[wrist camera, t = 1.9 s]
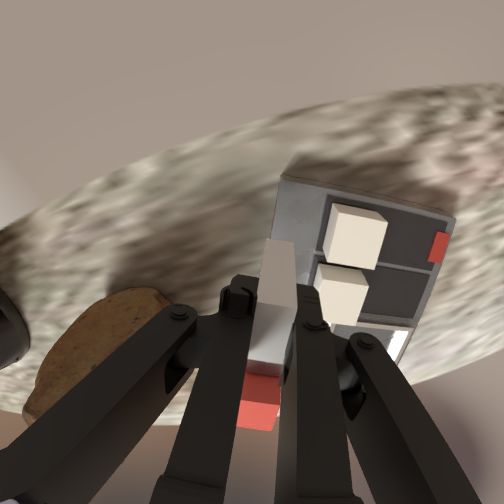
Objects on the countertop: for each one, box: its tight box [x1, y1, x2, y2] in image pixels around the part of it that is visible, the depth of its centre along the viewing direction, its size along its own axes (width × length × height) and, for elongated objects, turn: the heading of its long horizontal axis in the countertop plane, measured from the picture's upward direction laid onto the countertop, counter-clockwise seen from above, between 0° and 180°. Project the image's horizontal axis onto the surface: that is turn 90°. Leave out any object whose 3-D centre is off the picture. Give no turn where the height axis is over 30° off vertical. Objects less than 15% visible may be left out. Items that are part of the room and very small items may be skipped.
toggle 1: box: [323, 203, 388, 270], centre depth 25 cm, size 4×4×3 cm
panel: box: [246, 175, 456, 377], centre depth 30 cm, size 17×21×4 cm
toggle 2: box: [313, 264, 369, 326], centre depth 27 cm, size 4×4×3 cm
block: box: [22, 287, 172, 464], centre depth 26 cm, size 11×8×20 cm
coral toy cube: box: [236, 359, 281, 431], centre depth 34 cm, size 5×5×7 cm
